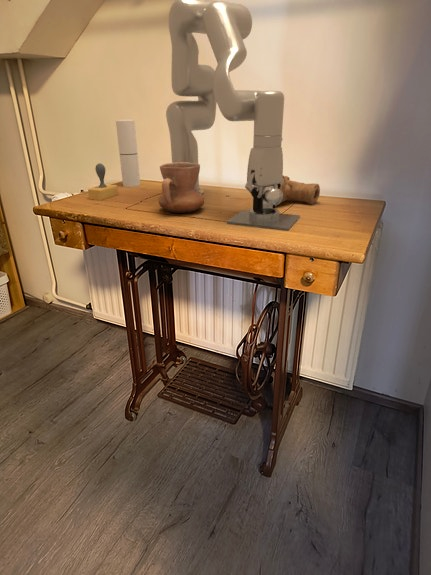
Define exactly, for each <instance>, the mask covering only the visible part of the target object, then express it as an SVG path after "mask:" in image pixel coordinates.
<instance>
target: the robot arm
mask: <svg viewBox="0 0 431 575" xmlns="http://www.w3.org/2000/svg"><path fill="white" fill-rule="evenodd" d="M169 8H170V9H169V12H168V30H169V32H168V33H169V36H170V42H171V90H172V92H173V93H174V94H175V95H176V96H179V97H193V98H194V97H197V100H176V101H173V102H171V103H170V104H169V105H168V106H167V108H166V112H165V118H166V122H167V127H168V132H169V139H170V150H171V151H170V153H171V154H170V155H171V163H176V162H190V163H191V164H192V163H198V164H199V148H198V147H199V146H198V141H197V139H196V137H195V135H194V134H193V131H194V132H195V131H204V130H209V129H212V127H213V126H214V124H215V122H216V121H215V120H216V115H217V106H218V108H219V112H220V113H221V115H222V117H223V118H225V119H226V120H227V121H229V122H253V143H252V144H253V145H252V146H253V147H251V148H250V150H249V157H248V161H247V162H248V164H247V172H246V183H245V186H244V187H245V189H246V190H247V191H249V193H250V194H251V197H252V209H253V210H255V211H258V212H262V202H263V198H261V195H262V190H263V187H264V186H270V185H274V188H276V189H280V187H281V185H282V184H283V183H284V181H285V180H284V178H283V176H284V173H283V172H284V158H283V157H284V156H283V155H284V154H283V147H282V141H283V124H284V110H285V95H284V93H283V92H282V91H280V90H249V89H242V90H238V89H237V90H235V87H234V86H233V82H232V80H231V76H230V72H233V71H234V70H236V69H237V68H239V67H240V66H241V65H242V64H243V63H244V62H245V60H246V58H247V54H248V52H247V48H246V46H245V42H244V40H245V39H247V38H248V37H249V35H250V34H251V31H252V26H253V18H252V15H251V12H250V10H249V9H248V7H246V6H245V4H241V3H234V2H229V1H228V2H227V1H222V0H221V1H217V0H174V1H173V2H172V4H171V5H170V7H169ZM194 33H196V34H202V35H203V34H204V35H206V36H207V38H208V42H209V44H210V48H211V50H212V51H213V52H212V53H213V54H214V58H215V60H216V62H217V65H216V68H215V69H214V67H212V66H211V65H209V64H199V53H200V52H199V50H200V49H199V45H198V43H197V39H196V38H195V36H194ZM282 175H283V176H282ZM199 178H200V176H198V179H197V182H196V184H195V187H194V189H195V190H196V191H198V192H199V193H201V194H202V195H203V196H204V190H203V189H200V180H199ZM257 188H258V191H257ZM276 207H277V205H273V209H277V208H276Z"/></svg>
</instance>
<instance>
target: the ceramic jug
mask: <svg viewBox="0 0 431 575" xmlns="http://www.w3.org/2000/svg"><path fill="white" fill-rule="evenodd" d="M200 170H201V164H199V162H198V163H192V164H191V163H190V162H176V163H172V162H168V163H163V164H162V165H160V166H159V171H160V174H161V176H162V178H163V180H162V181H161V182H162V183H161V190H162V191H161V192H162V194H161V195H160V196H159V197H158V198H159V199H158V205H159V207H160V208H161V209H163V210H165V211H167V212H171V213H177V214H178V213H179V214H180V213H181V214H186V213H187V214H188V213H193V212H196V211H197V210H200V209H201V208H202V207H203V206H204V203H205V197H204V194H203V195H202V194H201V193H199V192H198V191H196V190H195V189H194V187H195V184H196V182H197V179H198V176H199V174H200ZM199 177H200V176H199Z"/></svg>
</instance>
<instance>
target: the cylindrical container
mask: <svg viewBox="0 0 431 575" xmlns="http://www.w3.org/2000/svg"><path fill="white" fill-rule="evenodd" d="M115 126H116V133H117V134H116V135H117V143H118V152H119V162H120V170H121V179H122V186H123V187H125V188H126V187H127V188H129V187H131V188H132V187H134V188H135V187H138V186H141V176H140V167H139V166H140V165H139V156H138V155H139V154H138V144H137V136H136V123H135V119H116V120H115Z"/></svg>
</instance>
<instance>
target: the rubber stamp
mask: <svg viewBox="0 0 431 575" xmlns="http://www.w3.org/2000/svg"><path fill="white" fill-rule="evenodd" d="M94 169H95V173H96V175H97V177H98V179H99V182H100V184H99V185H97V186H95V187H94V186H93V187H90V188H88V189H87V191H88V192H87V193H88V197H89V198H88V200H92V199H94V201H104V200H106V199H110V198H112V197H116V196H118V195H119V188H118V185H117V184H110V183H109V184H108V183H105V176H106V167H105V166H104V164H103V163H101V162H100V163H97V164H96V165H95V168H94Z"/></svg>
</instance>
